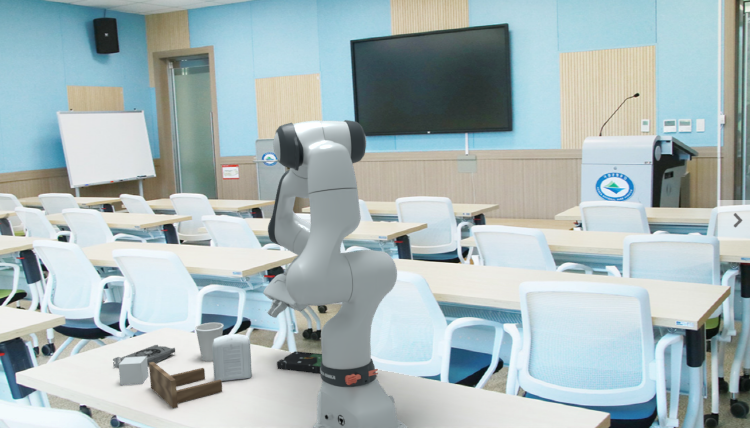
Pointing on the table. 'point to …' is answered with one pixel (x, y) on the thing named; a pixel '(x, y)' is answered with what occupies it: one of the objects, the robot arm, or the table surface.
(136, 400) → the table surface
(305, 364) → the disk drive
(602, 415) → the table surface
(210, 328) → the dixie cup
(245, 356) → the photo printer
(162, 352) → the graphics card
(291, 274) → the robot arm
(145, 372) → the grey cube
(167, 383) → the dock
